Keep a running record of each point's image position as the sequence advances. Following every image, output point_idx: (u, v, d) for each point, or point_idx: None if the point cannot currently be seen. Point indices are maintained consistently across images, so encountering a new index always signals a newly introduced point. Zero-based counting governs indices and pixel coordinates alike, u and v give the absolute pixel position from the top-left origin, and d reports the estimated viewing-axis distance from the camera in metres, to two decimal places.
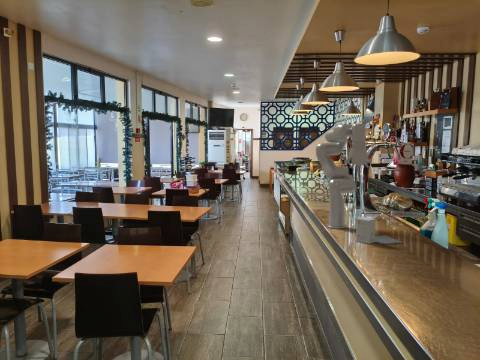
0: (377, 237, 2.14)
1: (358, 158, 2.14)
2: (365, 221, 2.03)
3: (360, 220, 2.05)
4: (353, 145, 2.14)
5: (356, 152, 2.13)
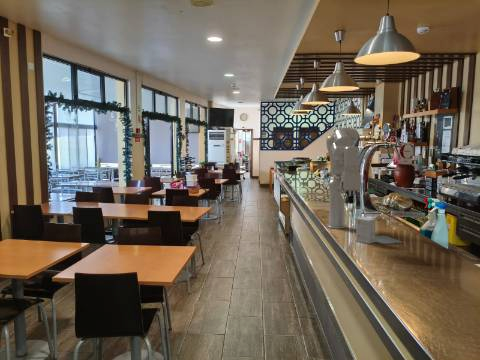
0: (377, 237, 2.14)
1: (350, 184, 1.99)
2: (365, 221, 2.03)
3: (360, 220, 2.05)
4: (345, 169, 1.99)
5: (348, 177, 1.98)
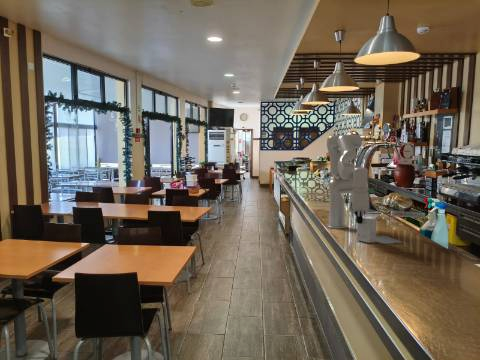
0: (377, 237, 2.14)
1: (359, 204, 2.01)
2: (366, 220, 2.04)
3: None
4: (354, 190, 2.02)
5: (357, 197, 2.01)
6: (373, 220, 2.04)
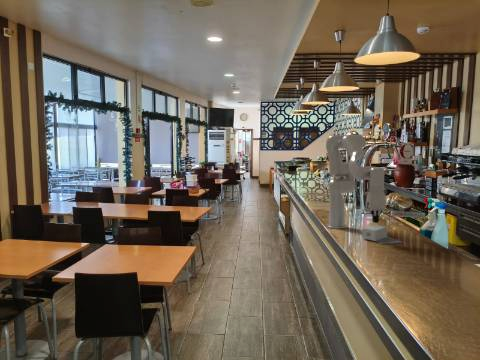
0: None
1: (376, 204, 2.04)
2: (383, 226, 2.14)
3: (378, 225, 2.17)
4: (371, 190, 2.04)
5: (374, 197, 2.03)
6: (386, 231, 2.13)
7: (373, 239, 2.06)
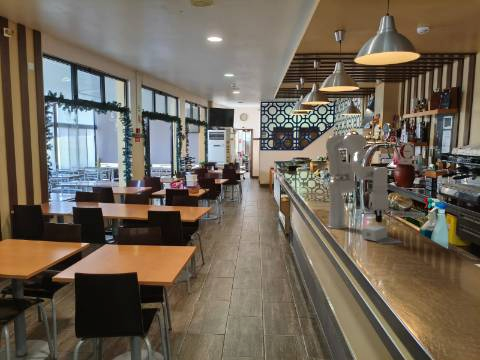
0: None
1: (379, 204, 2.04)
2: (383, 226, 2.14)
3: (378, 225, 2.17)
4: (374, 190, 2.05)
5: (377, 197, 2.04)
6: (386, 231, 2.13)
7: (373, 239, 2.06)
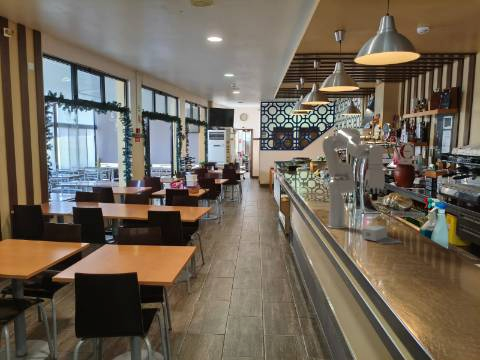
0: None
1: (375, 181, 2.03)
2: (383, 226, 2.14)
3: (378, 225, 2.17)
4: (370, 168, 2.03)
5: (373, 175, 2.02)
6: (386, 231, 2.13)
7: (373, 239, 2.06)
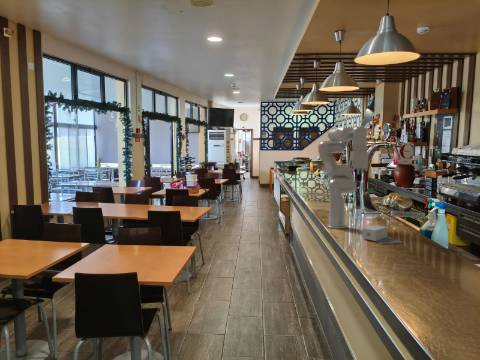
0: None
1: (359, 162, 2.10)
2: (383, 226, 2.14)
3: (378, 225, 2.17)
4: (354, 149, 2.11)
5: (357, 156, 2.10)
6: (386, 231, 2.13)
7: (373, 239, 2.06)
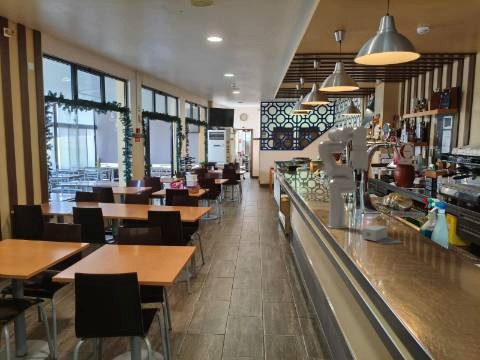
0: None
1: (359, 162, 2.10)
2: (383, 226, 2.14)
3: (378, 225, 2.17)
4: (354, 149, 2.11)
5: (357, 156, 2.10)
6: (386, 231, 2.13)
7: (373, 239, 2.06)
